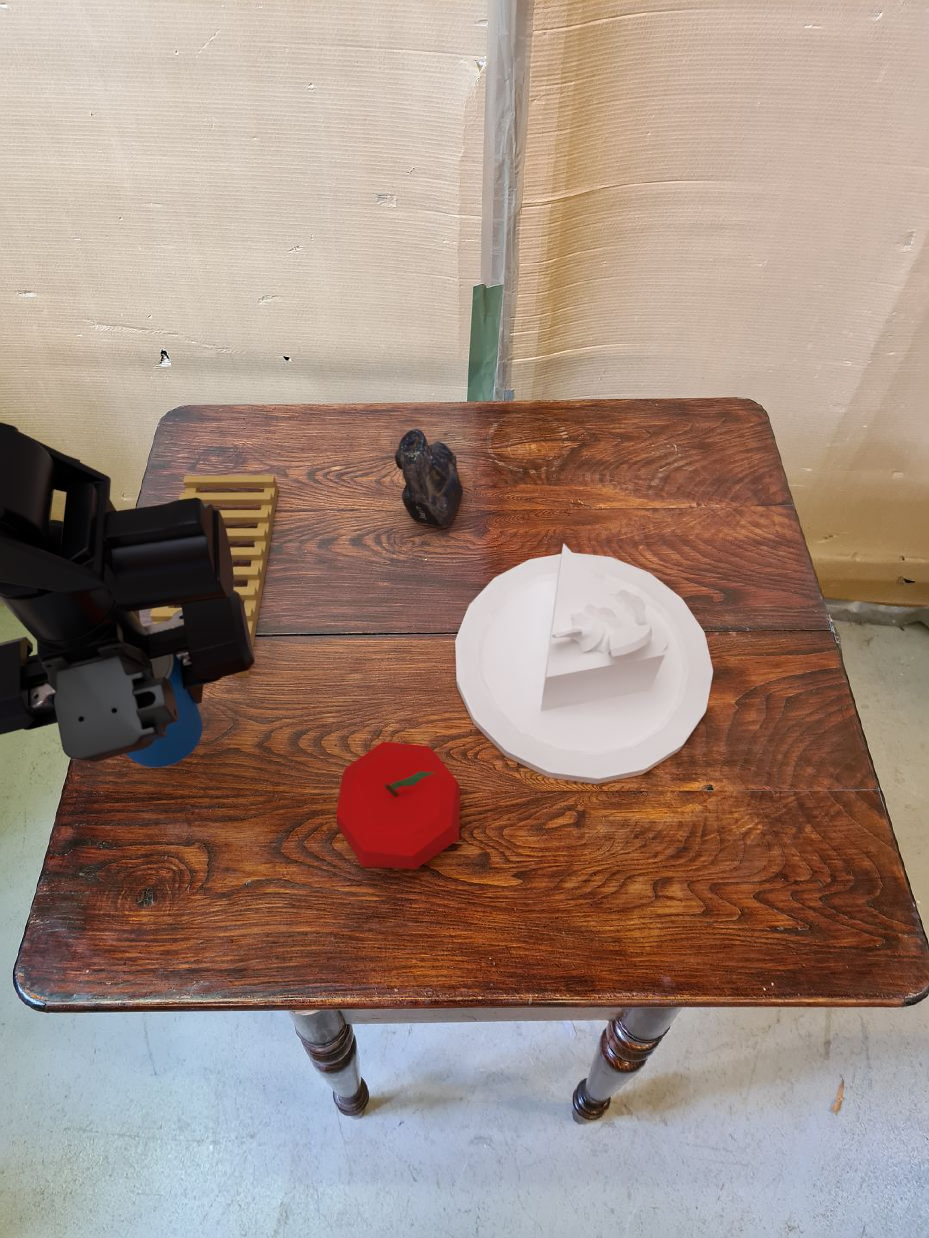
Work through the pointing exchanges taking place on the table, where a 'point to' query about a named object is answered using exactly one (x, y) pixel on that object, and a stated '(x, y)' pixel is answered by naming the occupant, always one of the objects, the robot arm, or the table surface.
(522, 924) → the table surface
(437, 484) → the statue
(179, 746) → the beverage can
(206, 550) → the robot arm
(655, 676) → the dish
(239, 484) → the rack
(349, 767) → the apple
